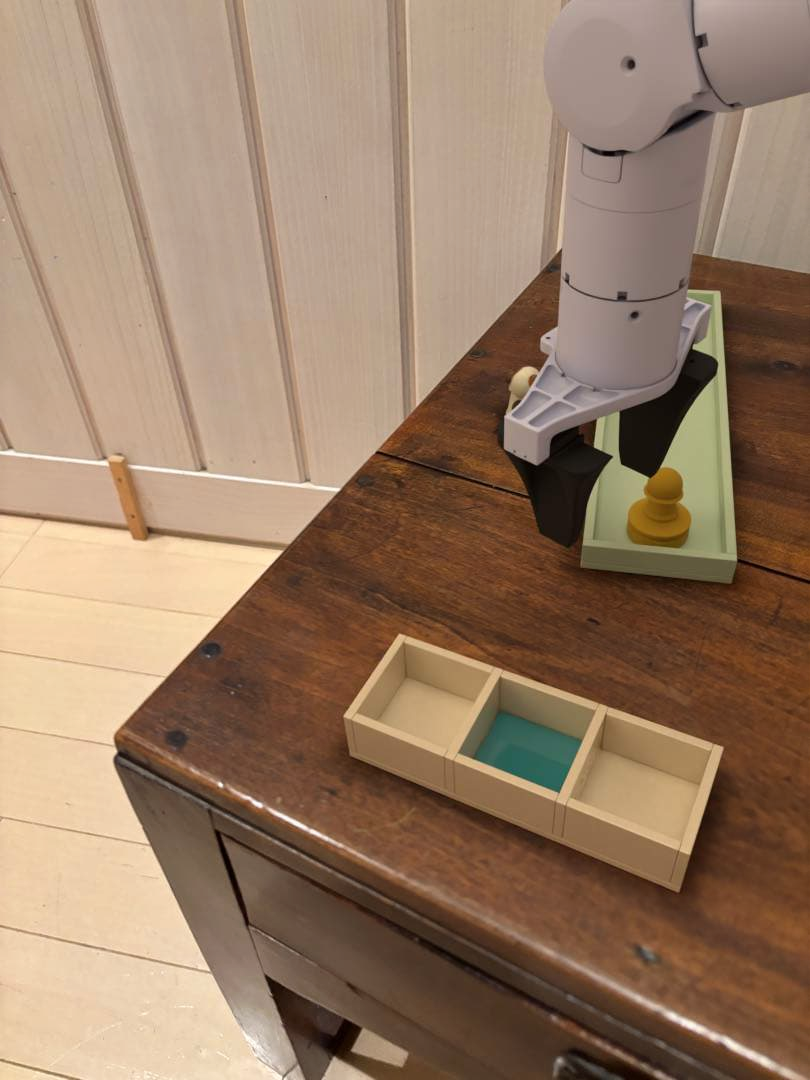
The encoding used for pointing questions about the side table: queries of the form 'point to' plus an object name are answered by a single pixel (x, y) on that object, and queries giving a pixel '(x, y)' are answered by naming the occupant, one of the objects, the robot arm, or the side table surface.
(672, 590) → the side table surface
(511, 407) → the toy dog
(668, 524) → the chess piece
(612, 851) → the three-compartment organizer
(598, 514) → the tray
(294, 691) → the side table surface
